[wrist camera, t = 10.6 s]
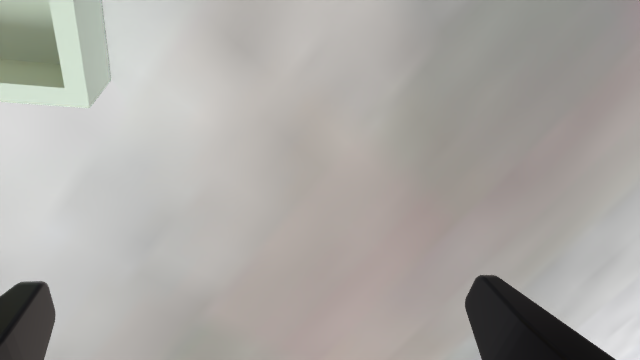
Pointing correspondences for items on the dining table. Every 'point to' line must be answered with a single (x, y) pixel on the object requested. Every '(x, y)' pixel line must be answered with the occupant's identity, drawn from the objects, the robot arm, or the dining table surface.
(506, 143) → the dining table surface
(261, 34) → the dining table surface
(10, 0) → the parts tray
